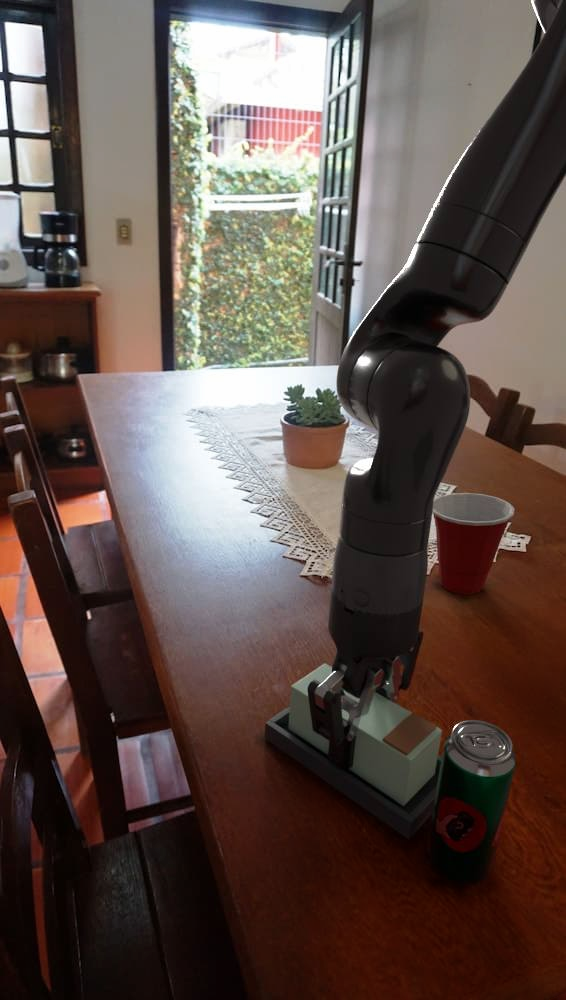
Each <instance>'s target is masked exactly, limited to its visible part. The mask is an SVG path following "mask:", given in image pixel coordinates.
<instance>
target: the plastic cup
mask: <svg viewBox="0 0 566 1000" xmlns="http://www.w3.org/2000/svg"><path fill="white" fill-rule="evenodd" d="M432 512H433V513H432V516H433V519H434V526H435V534H436V536H435V537H436V554H437V555H436V556H437V561H438V579H439V583H440V585H441V587H443V588H444V589H445V590H446V591H449V592H451V593H453V594H458V595H475V594H478V593H479V592H480V591H482V588H484V586H485V583H486V580H487V577H488V574H489V572H490V571H491V569H492V566H493V564H494V561H495V557H496V555H497V553H498V550H499V547H500V544H501V541H502V538H503V536H504V535H505V531H506V529H507V527H508V523H510V520H511V519H512V518H513V517H514V514H515V507H514V506H513V505H512V504H511V503H510V502H508V501H506V500H505V499H501V498H500V497H496V496H492V495H487V494H483V493H471V492H460V493H459V492H458V493H457V492H456V493H449V494H445V495H443V494H442V495H439V496H437V497H434V502H433V511H432Z"/></svg>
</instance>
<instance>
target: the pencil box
mask: <svg viewBox="0 0 566 1000" xmlns="http://www.w3.org/2000/svg"><path fill="white" fill-rule="evenodd" d="M331 674H332V665H331V666H330V665H329V664H327V663H322V665H320V666H319V667H317V668H315V669H314V670H313V671H311V672H310V673H308V674H307V675H305V676H304V677H302V678H301V679H299V680H298V681H296V682H295V683H293V684H292V685H291V686H290V695H289V696H290V698H289V706H290V710H289V727H288V728H289V729H290V730H291V731H293V732H294V733H296V734H297V735H299V736H300V737H302V738H303V739H305V740H306V741H308V742H309V743H311V744H312V745H313V746H315V747H316V748H318V749H319V750H321V751H322V752H324V753H325V754H327V755H328V752H329V751H328V750H329V740H327V739H326V738H324V737H323V736H321V735H320V734H317V733H316V732H314V731H313V728H312V720H311V713H310V706H309V699H308V691H307V689H308V686H309V684H310V682H311V681H312V680H314V679H316V680H317V681H319V682H321V683H323V682H324V681H325V680H326V679H327V678H328V677H329V676H330V675H331ZM344 693H345V695H347V696H348V697H350V698H352V699H353V700H355V701H357V702H358V703H359V701H360V699H359V698H356V697H354V696H352V695H351V694H349V693H347V692H346V691H344ZM342 718H343V720H344V721H346V722H348V719H349V713H348V712H347V711H345V710H343V709H342ZM442 734H443V729H441V728H439V727H438V726H437V725H436V724H434V723H432V722H430V721H429V720H427V719H425V718H424V717H422V716H420V715H418V714H416V713H415V712H411V711H409V710H408V709H406V708H404V707H403V706H401V705H399V704H397V703H394V702H392V701H390V700H388V699H387V698H385V697H383V696H381V695H380V694H378V693H376V692H375V693H374V696H373V699H372V702H371V706H370V709H369V712H368V714H367V715H364V716H361V719H360V722H359V725H358V728H357V732H356V734H355V736H356V741H355V750H354V759H353V766H352V767H351V768H350V769H349V770H351V771H352V772H354V773H355V774H357V775H358V776H359V777H361V778H362V779H364V780H365V781H367V782H368V783H370V784H371V785H373V786H374V787H376V788H377V789H379V790H380V791H382V792H383V793H385V794H386V795H388V796H389V797H391V798H392V799H394V800H395V801H397V802H398V803H400V804H401V805H403V806H404V805H405V804H406V803H407V802H408V801H409V800H410V799H411V798H412V797H413V796H414V795H415V794H416V793H417V792H418V791H419V790H420V789H421V788H422V787H423V786H424V785H425V784H426V783H427V782H428V781H429V779H430V778H431V777H432V776H433V775H434V774H435V769H436V763H437V757H438V754H439V750H440V745H441V740H442Z"/></svg>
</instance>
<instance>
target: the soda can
mask: <svg viewBox="0 0 566 1000" xmlns="http://www.w3.org/2000/svg"><path fill="white" fill-rule="evenodd" d="M441 756H442V760H441V765H440V771H439V777H438V783H437V789H436V794H435V800H434V806H433V812H432V815H431V816H430V824H429V830H428V835H427V842H426V855H427V857H428V860H429V861H430V863H431V865H432V866H433V868H434V869H435V870H436V871H437V872H438V873H439V874H441V875H442V876H443V877H444V878H446V879H448V880H449V881H452V882H454V883H458V884H464V885H471V884H476V883H480V882H481V881H484V880H485V879H486V878H488V876H489V875H490V873H491V872H492V870H493V865H494V861H495V857H496V853H497V848H498V844H499V839H500V835H501V831H502V826H503V822H504V819H505V813H506V809H507V804H508V800H509V796H510V793H511V792H510V791H511V786H512V782H513V778H514V773H515V770H516V764H517V757H516V754H515V752H514V745H513V742H512V739H511V737H510V736H509V734H507V733H506V732H505V731H504V730H503V729H502V728H500V727H498V726H497V725H495V724H494V723H493V724H492V723H490V722H487V721H484V720H477V719H468V720H463V721H460V722H458V723H457V724H456V725H454V727H453V728H452V729H451V732H450V733H449V734H448V735H447V736H446V737H445V739H444V742H443V748H442V754H441Z"/></svg>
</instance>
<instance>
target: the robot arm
mask: <svg viewBox="0 0 566 1000" xmlns="http://www.w3.org/2000/svg"><path fill="white" fill-rule="evenodd" d="M530 1H531V4H532V8H533V9H534V12H535V15H536V17H537V20H538V22H539V24H540V26H541V28H542V30H543V33H544V34H543V36H542V38H541V39H540V41H539V43H538V44H537V46H536V48H535V49H534V51H533V53H532V54H531V56H530V58H529V59H528V60H527V63H526V65H524V67H523V69H522V70H521V72H520V73H519V75H518V76H517V78H516V80H515V81H514V82H513V84H512V85H511V87H510V88H509V90H508V91H507V92H506V94H505V95H504V96H503V98H502V99H501V100H500V102H499V103H498V105H497V106H496V107H495V109H493V111H492V113H491V114H490V116H489V117H488V118H487V120H486V121H485V123H483V125H482V127H480V129H479V130H478V132H477V133H476V134H475V136H474V138H473V139H472V141H470V143H469V145H468V146H467V147H466V149H465V151H464V152H463V154H462V155H461V157H460V159H459V160H458V162H457V163H456V165H455V166H454V168H453V170H452V171H451V173H450V175H449V176H448V178H447V180H446V182H445V183H444V185H443V187H442V188H441V191H440V192H439V194H438V197H437V199H436V200H435V203H434V204H433V207H432V208H431V211H430V212H429V215H428V217H427V218H426V219H427V220H426V221H425V223H424V225H423V227H422V230H421V232H420V234H419V236H418V238H417V240H416V242H415V245H414V247H413V249H412V251H411V253H410V256H409V257H408V259H407V262H406V264H405V265H404V267H403V268H402V270H401V271H400V272H399V273H398V275H397V276H396V277H395V278H394V279H393V280H392V281H391V282H390V284H389V285H388V286H387V288H386V289H385V290H384V292H382V294H381V295H380V297H379V298H378V299H377V301H376V302H375V303H374V305H373V306H372V307H371V309H370V310H369V311H368V313H366V315H365V317H363V319H362V320H361V322H360V323H359V325H358V326H357V327H356V329H355V330H354V331H353V333H352V334H351V337H350V338H349V340H348V341H347V344H346V346H345V347H344V349H343V352H342V355H341V357H340V361H339V364H338V368H337V373H336V387H335V388H336V394H337V398H338V401H339V403H340V405H341V407H342V408H343V410H344V411H345V412H346V413H347V414H348V415H349V416H350V417H351V418H352V419H354V420H356V421H358V422H360V423H361V424H363V425H365V426H367V427H369V428H371V429H372V430H375V431H376V432H377V445H376V448H375V452H374V455H373V457H368V458H364V459H361V460H359V461H357V462H356V463H354V464H353V465H352V466H350V468H349V469H348V470H347V473H346V475H345V478H344V481H343V487H342V494H341V495H342V496H341V507H340V519H339V530H338V537H337V538H338V539H337V542H336V547H335V550H334V555H333V560H332V561H333V563H332V573H331V574H332V575H331V586H330V597H329V598H330V599H329V608H328V609H329V611H328V622H327V623H328V624H327V629H328V632H329V636H330V637H331V639H332V641H333V643H334V645H335V648H336V654H335V657H334V660H333V662H332V664H331V667H332V674H331V675H330V676H329V677H328V678H327V679H326V680H325V681H324V682H323V683H321V682H319V681H317V680H316V679H314V680H312V681H311V682H310V684H309V686H308V689H307V691H308V699H309V706H310V713H311V720H312V728H313V731H314V732H316V733H317V734H320V735H321V736H323V737H324V738H326V739H327V740H329V750H328V751H329V752H328V759H329V760H330V761H331V762H333V763H334V764H336V765H337V766H339V767H340V768H341V769H343V770H345V771H347V770H349V769H350V768H351V767H352V766H353V759H354V750H355V741H356V736H355V734H356V732H357V728H358V725H359V722H360V719H361V716H364V715H367V714H368V712H369V709H370V706H371V702H372V699H373V696H374V693H375V692H376V693H378V694H380V695H381V696H383V697H385V698H387V699H388V700H390V701H392V702H394V703H396V704H397V702H398V701H399V699H400V691H401V690H402V691H407V690H408V689H409V688H410V686H411V683H412V679H413V675H414V673H415V668H416V663H417V661H418V656H419V653H420V650H421V646H422V642H423V638H424V631H423V630H420V625H421V618H422V611H423V605H424V599H425V598H424V597H425V590H426V584H427V583H426V582H427V577H428V568H429V567H428V566H429V565H428V564H429V556H428V555H429V554H428V551H429V541H430V540H429V539H430V533H431V526H432V519H433V512H432V511H433V502H434V499H435V496H436V494H437V491H438V490H439V487H440V485H441V483H442V481H443V479H444V477H445V475H446V473H447V470H448V468H449V466H450V463H451V462H452V458H453V456H454V454H455V451H456V449H457V447H458V445H459V442H460V440H461V438H462V435H463V433H464V431H465V427H466V425H467V423H468V420H469V419H468V418H469V415H470V409H471V387H470V381H469V377H468V374H467V371H466V369H465V367H464V365H463V363H462V362H461V360H459V358H458V357H457V356H456V355H455V354H453V353H452V352H450V351H448V350H447V349H445V348H443V347H440V346H439V345H440V344H441V342H442V341H443V340H444V339H445V337H446V336H447V335H448V334H449V333H450V332H451V331H452V330H453V329H454V328H456V327H457V326H462V325H467V324H472V323H478V322H482V321H483V320H486V319H487V318H488V317H489V316H490V315H491V314H492V313H493V312H494V310H495V309H496V307H497V306H498V304H499V302H500V300H501V299H502V297H503V296H504V294H505V291H506V289H507V287H508V286H509V284H510V282H511V280H512V278H513V276H514V274H515V273H516V270H517V268H518V266H519V265H520V263H521V260H522V258H524V257H523V256H524V255H525V253H526V251H527V248H528V247H529V245H530V243H531V241H532V239H533V237H534V235H535V233H536V231H537V229H538V227H539V225H540V223H541V222H542V219H543V217H544V215H545V213H546V212H547V210H548V208H549V206H550V204H551V202H552V201H553V199H554V198H555V195H556V194H557V192H558V190H559V188H560V187H561V185H562V184H563V181H564V180H565V178H566V0H530ZM401 666H403V670H402V672H401ZM344 691H346V692H347V693H349V694H351V695H352V696H354V697H356V698H359V699H360V701H359V703H358V702H357V701H355V700H353V699H352V698H350V697H348V696H347V695H345V693H344ZM342 709H343V710H345V711H347V712H348V713H349V719H348V722H346V721H344V720H343V718H342Z"/></svg>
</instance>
